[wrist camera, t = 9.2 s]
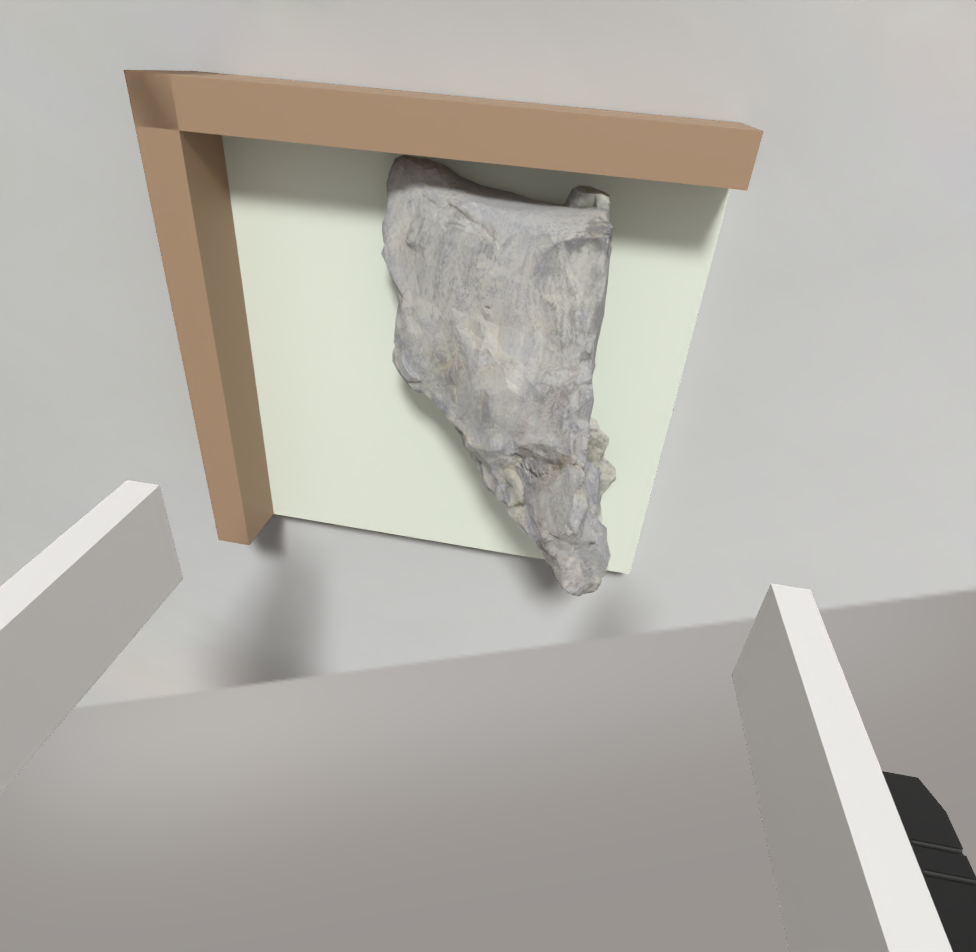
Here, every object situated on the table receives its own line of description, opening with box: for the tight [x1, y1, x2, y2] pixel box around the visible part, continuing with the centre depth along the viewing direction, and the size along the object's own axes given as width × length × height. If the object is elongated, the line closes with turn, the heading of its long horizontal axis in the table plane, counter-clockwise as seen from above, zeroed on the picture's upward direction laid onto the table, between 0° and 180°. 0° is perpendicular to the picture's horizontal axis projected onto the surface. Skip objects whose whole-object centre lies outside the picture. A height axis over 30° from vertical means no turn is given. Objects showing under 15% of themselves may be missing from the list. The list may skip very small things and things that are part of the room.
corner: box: [124, 70, 763, 574], centre depth 20 cm, size 15×15×3 cm
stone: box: [381, 154, 616, 596], centre depth 18 cm, size 6×12×4 cm, turn 6°
